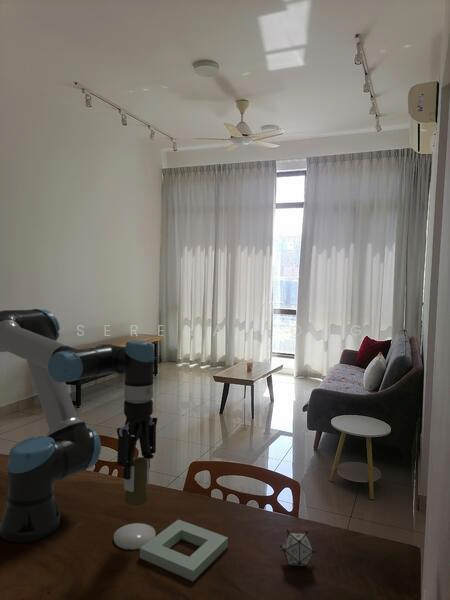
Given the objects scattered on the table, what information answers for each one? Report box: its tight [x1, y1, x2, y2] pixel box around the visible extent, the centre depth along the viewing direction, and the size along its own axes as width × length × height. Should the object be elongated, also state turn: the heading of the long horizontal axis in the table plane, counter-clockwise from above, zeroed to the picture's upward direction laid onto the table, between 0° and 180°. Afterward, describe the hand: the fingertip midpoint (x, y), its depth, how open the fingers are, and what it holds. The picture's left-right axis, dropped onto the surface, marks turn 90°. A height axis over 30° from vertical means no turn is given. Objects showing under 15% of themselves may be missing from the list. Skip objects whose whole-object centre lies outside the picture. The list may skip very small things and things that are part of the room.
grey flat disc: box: [113, 522, 157, 551], centre depth 118 cm, size 11×11×1 cm
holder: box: [139, 519, 229, 582], centre depth 112 cm, size 16×16×2 cm
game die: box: [279, 529, 317, 570], centre depth 108 cm, size 9×8×10 cm
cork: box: [124, 456, 148, 506], centre depth 117 cm, size 6×6×11 cm
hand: (136, 485), depth 117 cm, fingers closed on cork, 5 cm apart
